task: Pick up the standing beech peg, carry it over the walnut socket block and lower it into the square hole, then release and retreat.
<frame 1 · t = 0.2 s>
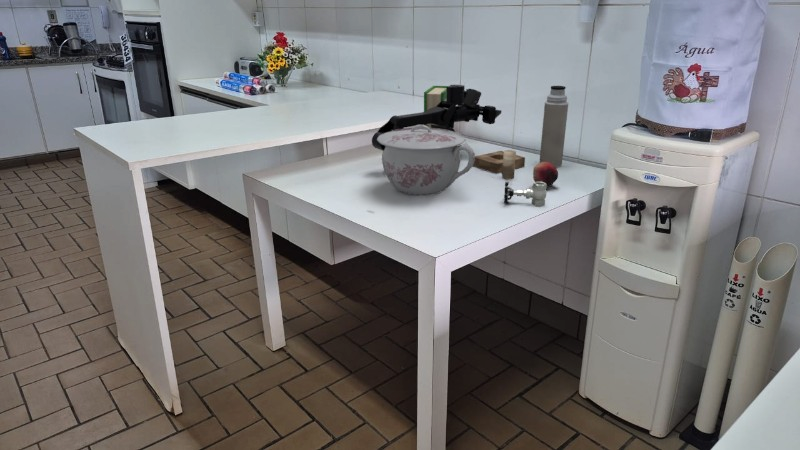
hand: (492, 109, 210), 17 cm above the table, tool horizontal, fingers open, 9 cm apart
chamber pot: (421, 189, 176), on the table
valve: (524, 204, 162), on the table
thermos bottle: (550, 164, 201), on the table
peg: (508, 177, 186), on the table
hardback book: (437, 150, 222), on the table
fruit: (544, 187, 177), on the table
socket block: (498, 166, 199), on the table
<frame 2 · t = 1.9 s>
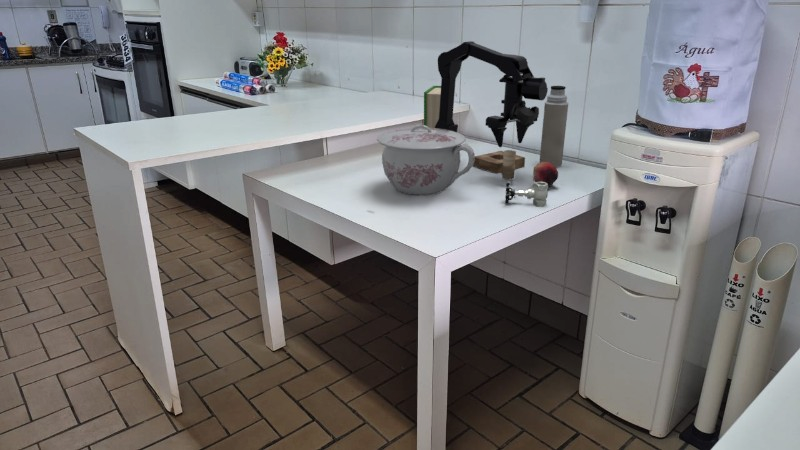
hand: (510, 145, 182), 11 cm above the table, tool pointing down, fingers open, 9 cm apart
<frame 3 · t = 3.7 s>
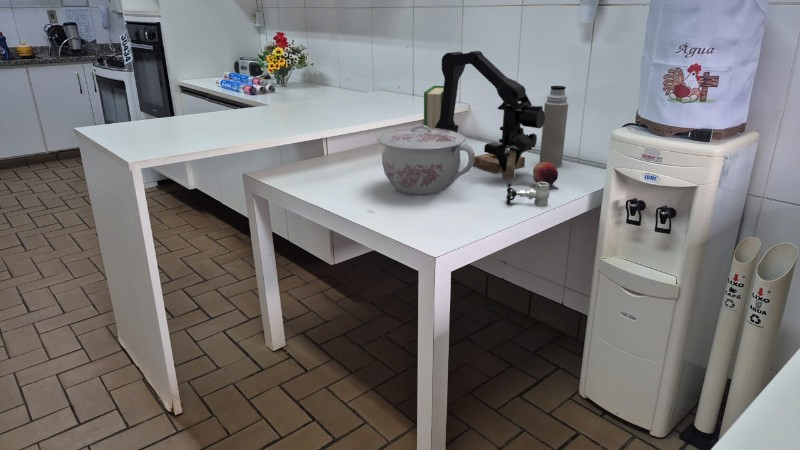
hand: (508, 170, 185), 3 cm above the table, tool pointing down, fingers closed on peg, 4 cm apart
peg: (508, 177, 186), on the table, touching gripper
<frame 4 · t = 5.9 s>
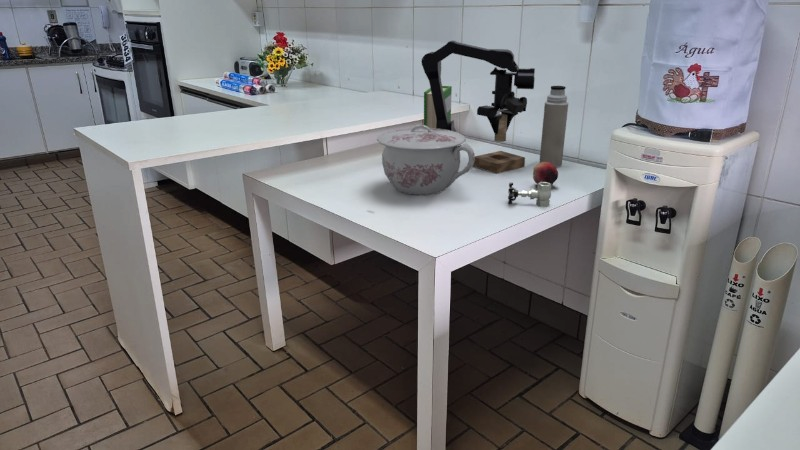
hand: (500, 133, 194), 12 cm above the table, tool pointing down, fingers closed on peg, 4 cm apart
peg: (500, 140, 195), point 10 cm above the table, touching gripper
when the fingers open (5 cm above the table, at t = 8.1 s): peg drops 2 cm, resting in socket block.
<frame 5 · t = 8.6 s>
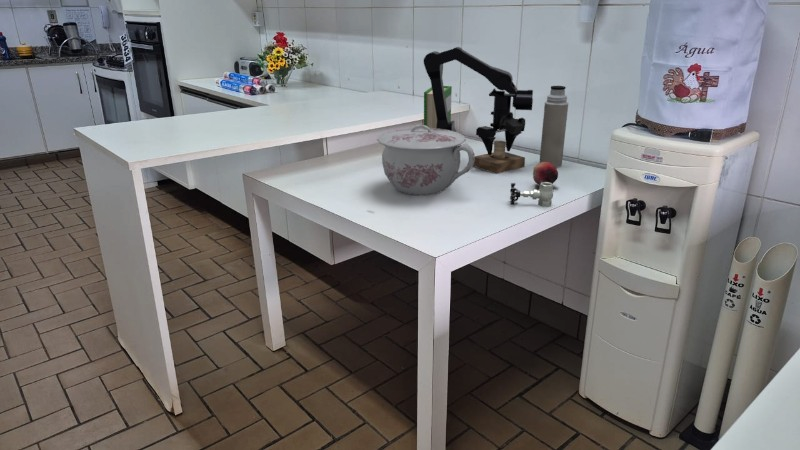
hand: (499, 153, 197), 5 cm above the table, tool pointing down, fingers open, 9 cm apart
peg: (498, 166, 198), resting in socket block
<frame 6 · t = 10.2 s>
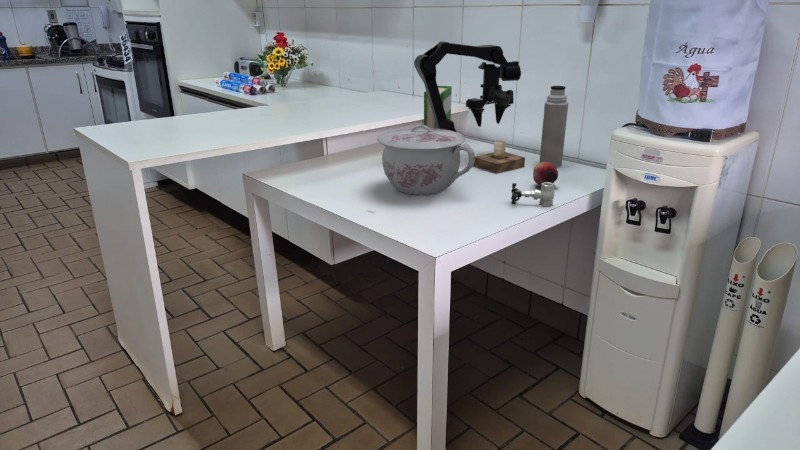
hand: (488, 125, 203), 13 cm above the table, tool pointing down, fingers open, 9 cm apart
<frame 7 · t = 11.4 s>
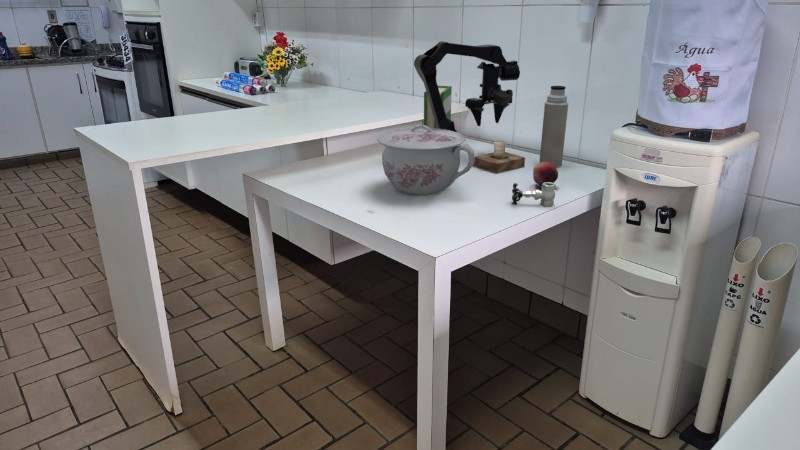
hand: (488, 124, 204), 13 cm above the table, tool pointing down, fingers open, 9 cm apart
at the end: peg 0.0 cm off-centre on the socket block, point 0.0 cm above the socket block's base; peg tilted 0°; the gripper is holding nothing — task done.
